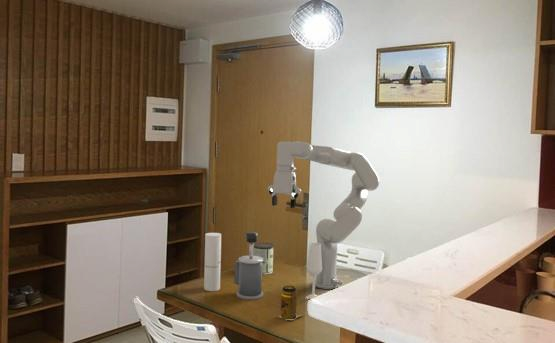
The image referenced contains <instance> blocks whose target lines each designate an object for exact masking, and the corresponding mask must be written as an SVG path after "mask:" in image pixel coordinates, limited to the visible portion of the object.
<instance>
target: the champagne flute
mask: <svg viewBox="0 0 555 343" xmlns="http://www.w3.org/2000/svg"><path fill="white" fill-rule="evenodd" d="M306 265H307V266H306V272H308V274H309V275H310V276H311V277H312V282H313V284H312V283H311V284H312V289H311V294H309V295H307V296H305V299H306V298H307V299H306V300H308V299H309V298H310V299H311V298H313V297H315V296H318V295H317V294H315V293H316V287H315V280H316V276H317V275H319V274H320V273H321V271H322V257H321V244H319V243H317V242H311V243H309V250H308V258H307V264H306Z"/></svg>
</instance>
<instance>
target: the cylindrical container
mask: <svg viewBox="0 0 555 343" xmlns="http://www.w3.org/2000/svg"><path fill="white" fill-rule="evenodd" d="M221 256H222V233H220V232H207V233H205V239H204V276H203V278H204V279H203V282H204V283H203V289H204V290H205V291H208V292H215V291H219V290H221V260H222V257H221Z"/></svg>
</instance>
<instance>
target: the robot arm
mask: <svg viewBox="0 0 555 343" xmlns="http://www.w3.org/2000/svg"><path fill="white" fill-rule="evenodd" d="M276 151H277V152H276V171H275V172H274V176H273V183H272V184H270V185H268V186H267V190H268V193H269V194H270V197H271V203H272V207H274V206H277V205H278V196H277V195H278V194H279V195H280V194H281V195H288V196H290V197H291V199H290V206H289V207H290V208H291V209H293V208H296V206H297V205H296V204H297V199H298V198H299V197H300V195H301V193H302V189H301V188H300V187H298V186H297V179H296V178H297V177H296V172H294V171H295V170H297V168H296V166H294V161H295V160H294V158H296V159H302V160H306V161H310V162H314V163H318V164H321V165H326V166H331V167H335V168H340V169H344V170H347V171H348V170H349V171H354V173H353V175H352V176H351V191H350V193H349V194H348V195H347V196H346V198H345V199H344V200H342V202H340V204H339V205H338V206H336V208H335V209H334V211H333V213H332V214H333V218H334V220H332V219H330V218H324V219H321V220H320V221H318V223H317V224H316V229H315V230H316V231H315V234H316V243H319V244H321V257H322V271H321V273H320V274H319V275H317V276H316V277H315V288H318V289H325V290H332V289H337V288H338V287H339V286H343V285H344V280H343V279H339V276H338V275H337V265H338V264H337V263H338V262H337V261H338V259H337V258H338V244H340V243H343V242H344V241H345V240H346V239H347V238H348V237H349V236H350V235H351V234H352V233H353V232H354V231H355V230H356V229H357V228H358V227H359V225H360V224H361V222H362V219H363V213H362V211H361V209H362V207H364V205H365V204H366V202H367V199H368V192H371V191H375V190H376V189H378V187H379V184H380V178H379V176H378V174H377V172H376V170H375V169H374V168H373V166H372V164H371V162H370V161H369V160H368V158H367V157H366V155H364V154H363V153H361V152H354V151H353V152H352V151H348V150H345V149H344V150H343V149H340V148H337V147H332V146H325V145H315V144H311V143H309V142H306V141H299V140H296V141H293V142H292V141H279V142H278V143H277V150H276ZM311 284H313V281H312V282H311Z"/></svg>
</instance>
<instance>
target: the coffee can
mask: <svg viewBox="0 0 555 343" xmlns="http://www.w3.org/2000/svg"><path fill="white" fill-rule="evenodd" d="M253 256H259V257H262V258H263V262H262V275H270V274H272V273H273V272H274V271H273V268H274V244H273V243H270V242H269V243H268V242H255V243H253Z"/></svg>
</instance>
